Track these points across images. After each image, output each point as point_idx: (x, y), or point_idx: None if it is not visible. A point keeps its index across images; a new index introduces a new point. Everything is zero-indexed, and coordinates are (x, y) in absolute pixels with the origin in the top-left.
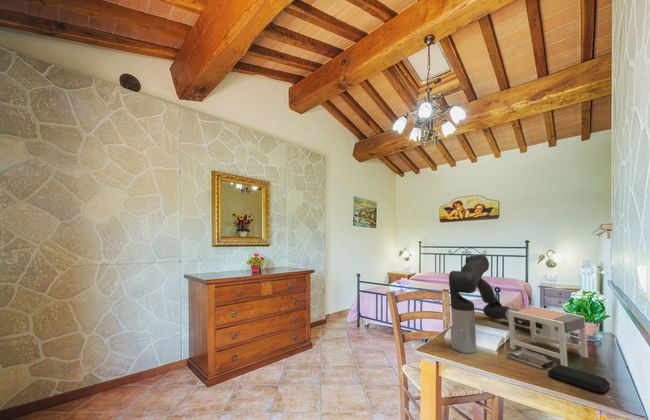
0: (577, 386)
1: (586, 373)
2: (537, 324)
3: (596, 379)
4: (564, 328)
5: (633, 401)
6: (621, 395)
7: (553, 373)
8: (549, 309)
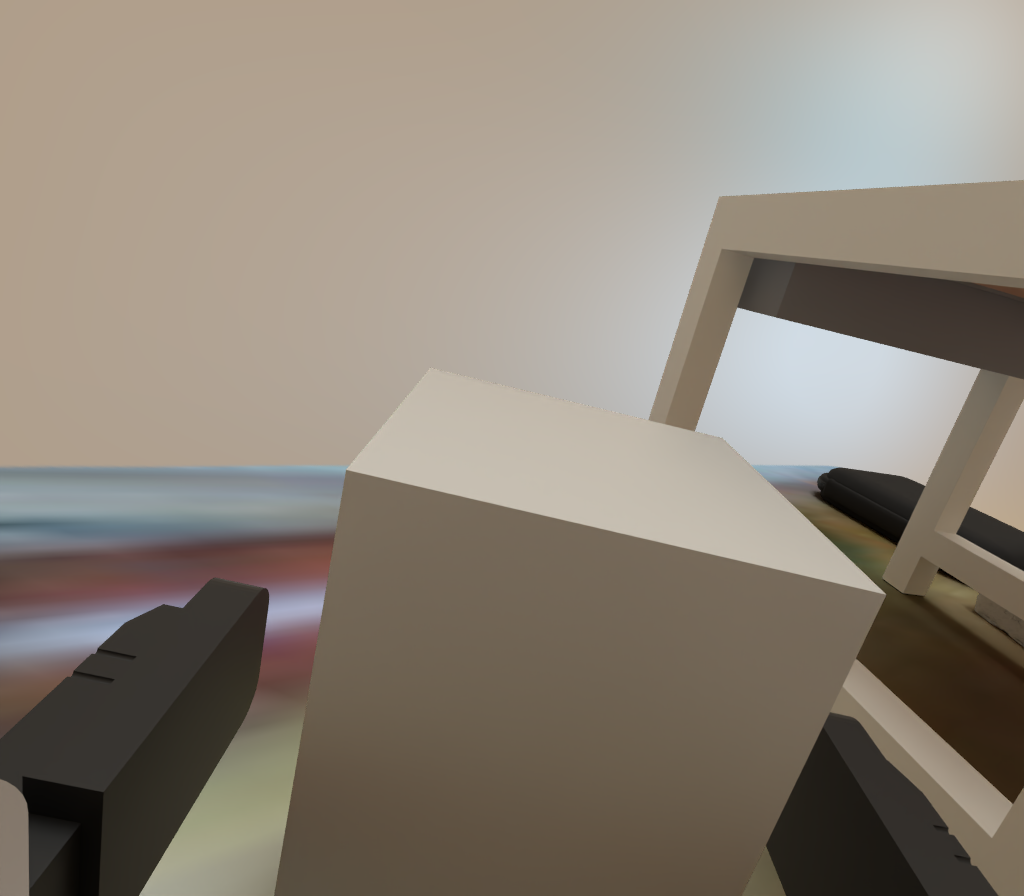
0: None
1: (895, 490)
2: (925, 802)
3: (885, 476)
4: None
5: (804, 468)
6: (814, 479)
7: None
8: (1002, 184)
